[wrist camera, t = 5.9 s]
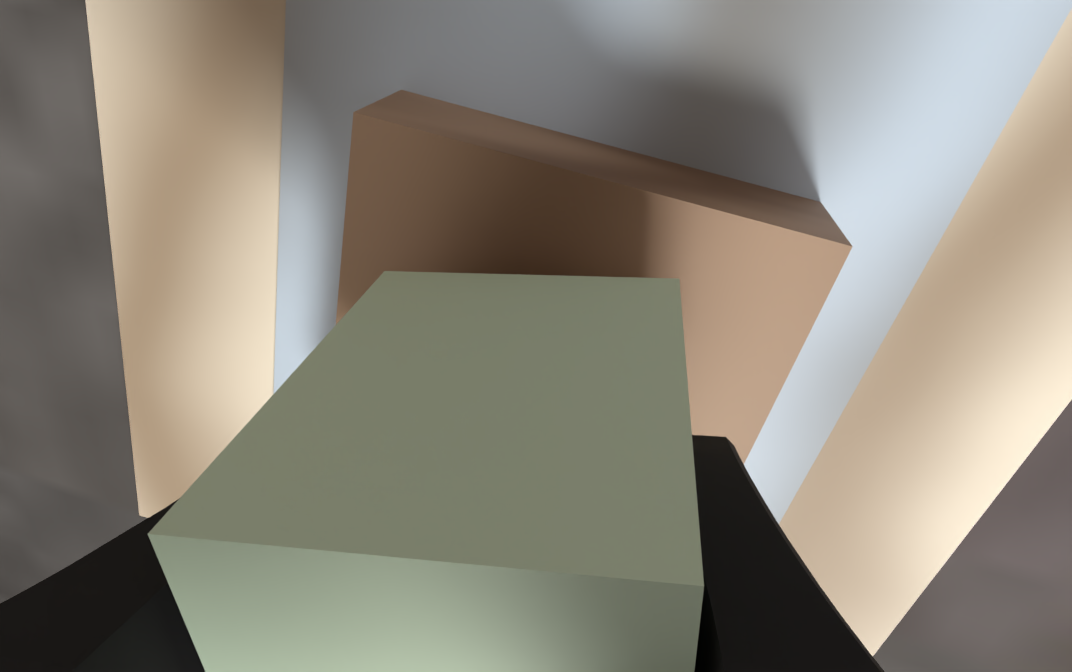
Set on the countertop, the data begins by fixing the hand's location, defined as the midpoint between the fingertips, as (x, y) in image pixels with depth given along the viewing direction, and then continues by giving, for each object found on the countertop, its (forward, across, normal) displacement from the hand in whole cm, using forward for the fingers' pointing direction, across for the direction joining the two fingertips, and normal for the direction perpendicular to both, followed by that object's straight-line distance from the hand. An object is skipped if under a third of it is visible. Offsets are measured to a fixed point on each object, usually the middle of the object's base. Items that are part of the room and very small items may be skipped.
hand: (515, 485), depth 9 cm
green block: (+2, 0, 0) cm, 2 cm away
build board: (+5, 0, 0) cm, 5 cm away
